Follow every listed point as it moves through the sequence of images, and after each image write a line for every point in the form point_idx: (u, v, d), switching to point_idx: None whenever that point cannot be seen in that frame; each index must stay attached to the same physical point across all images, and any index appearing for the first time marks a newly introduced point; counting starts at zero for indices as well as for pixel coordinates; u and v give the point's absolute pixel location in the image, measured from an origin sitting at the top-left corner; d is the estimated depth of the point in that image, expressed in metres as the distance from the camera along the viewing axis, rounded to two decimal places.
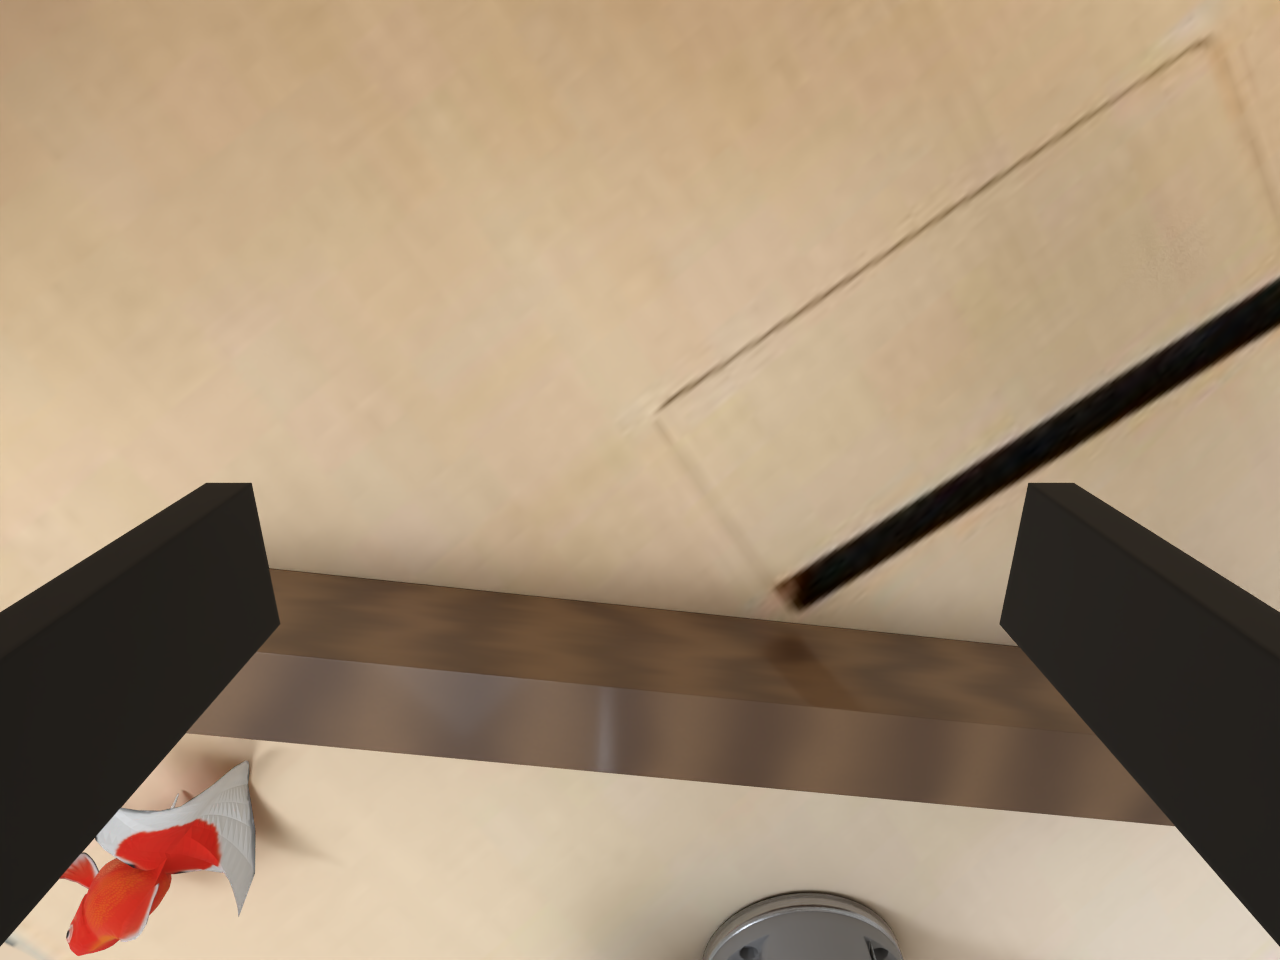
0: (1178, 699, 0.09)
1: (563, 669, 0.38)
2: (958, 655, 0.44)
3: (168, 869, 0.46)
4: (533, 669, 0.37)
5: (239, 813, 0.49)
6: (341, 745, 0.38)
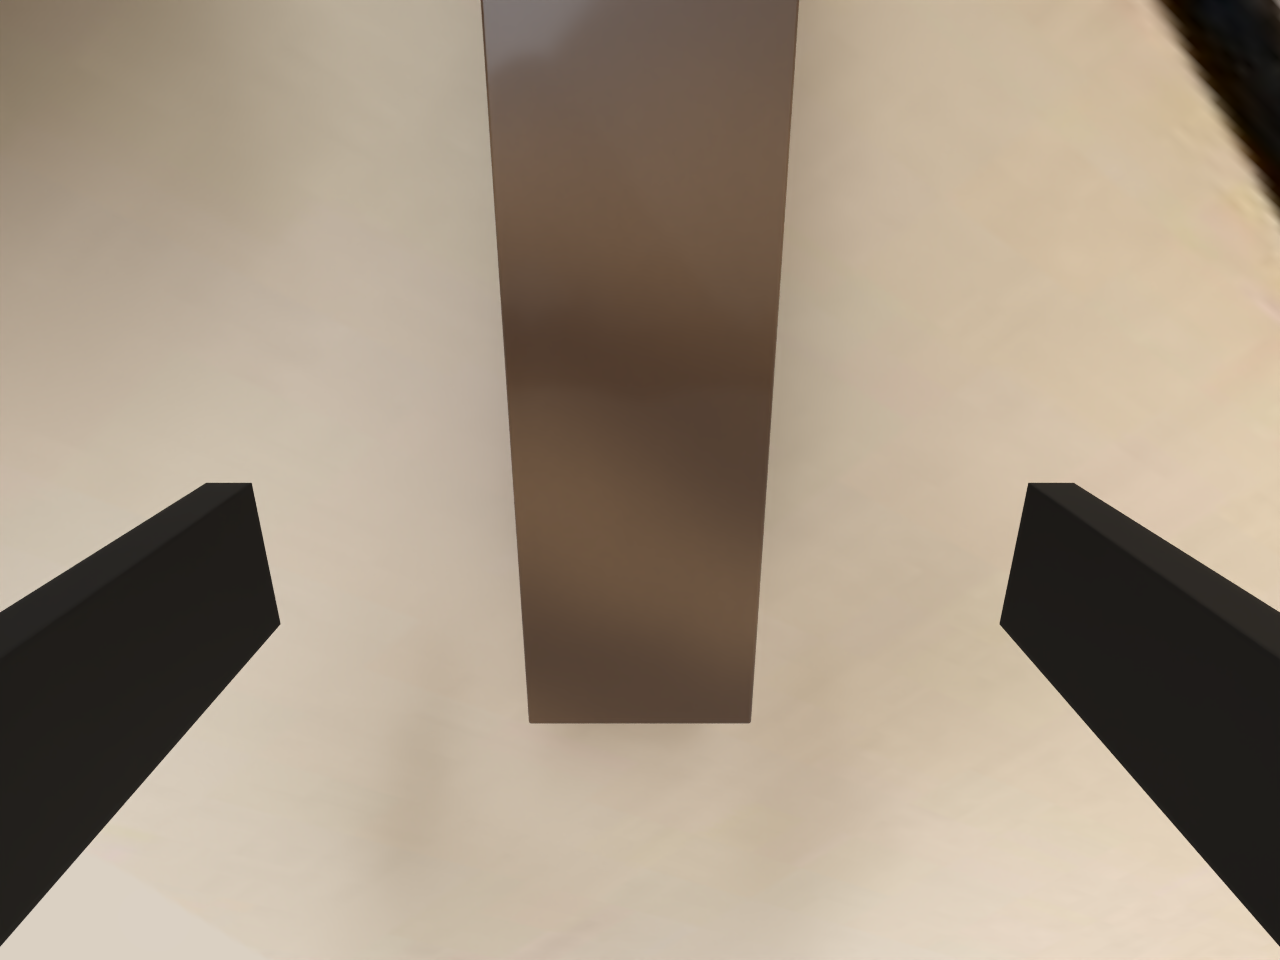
0: (1178, 698, 0.09)
1: None
2: None
3: None
4: None
5: None
6: None
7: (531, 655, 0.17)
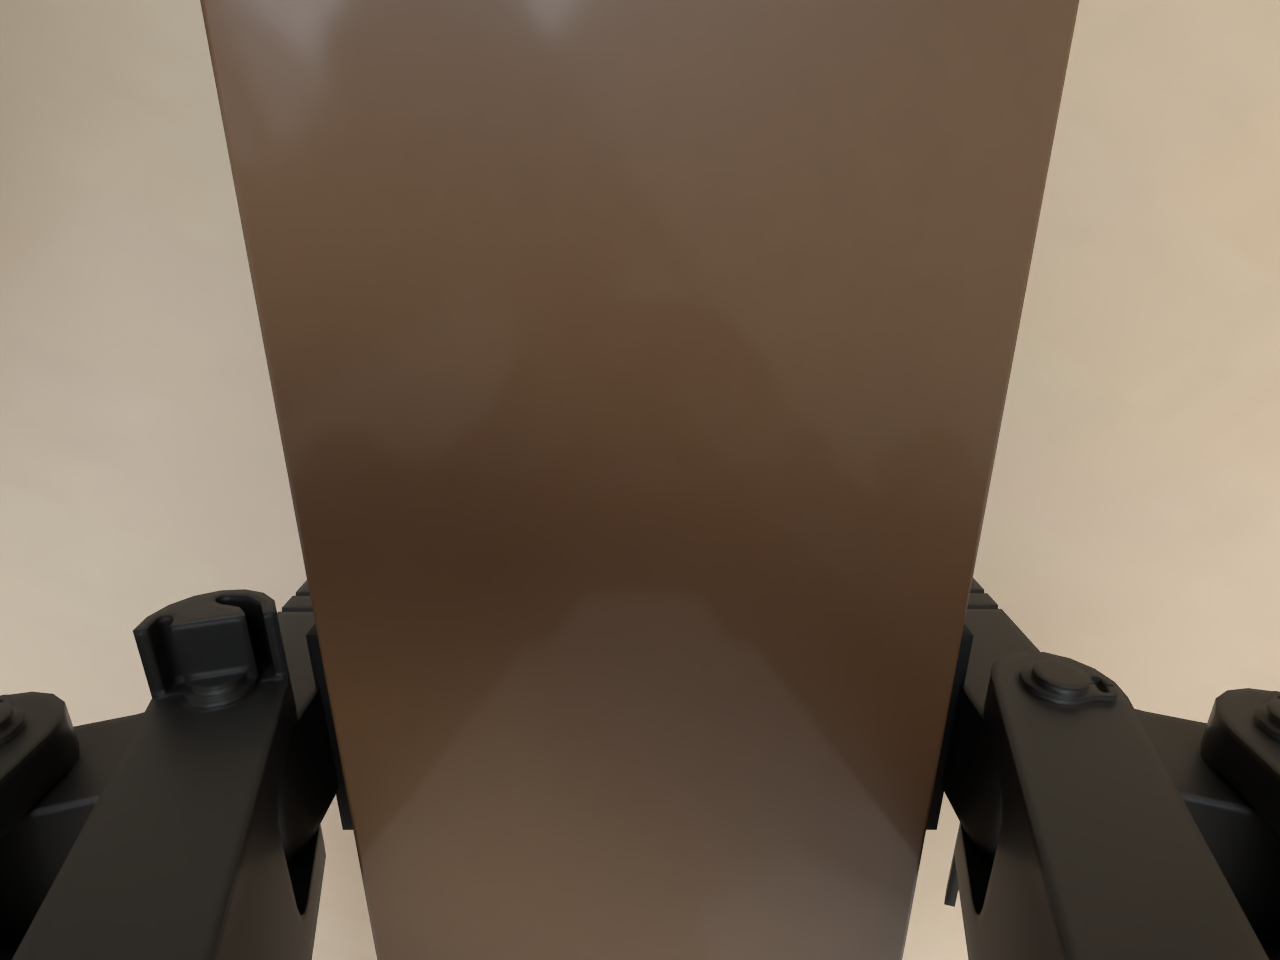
0: None
1: None
2: None
3: None
4: None
5: None
6: None
7: None
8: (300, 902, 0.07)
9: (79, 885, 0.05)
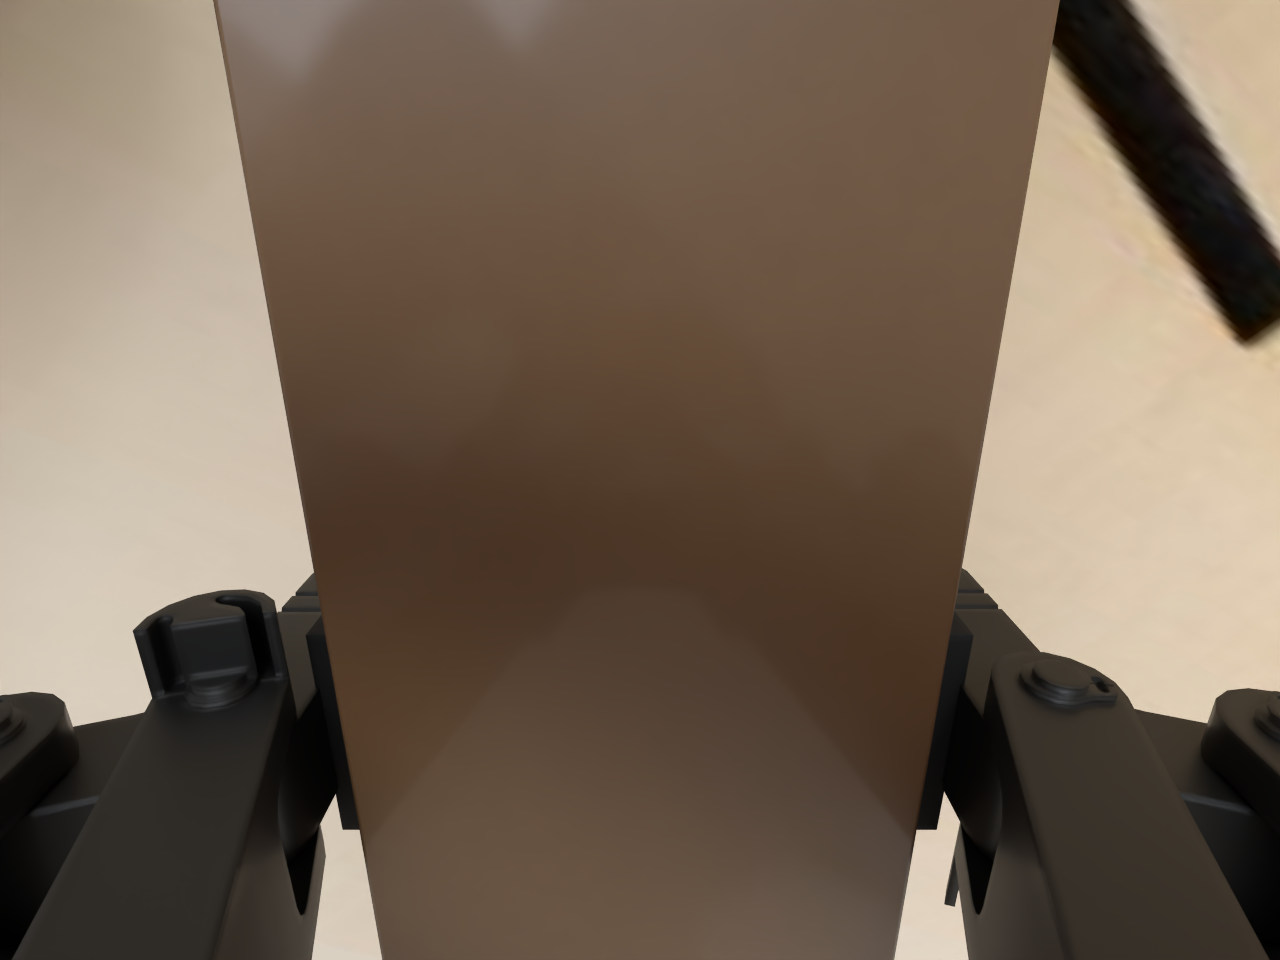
0: None
1: None
2: None
3: None
4: None
5: None
6: None
7: None
8: (300, 902, 0.07)
9: (79, 885, 0.05)
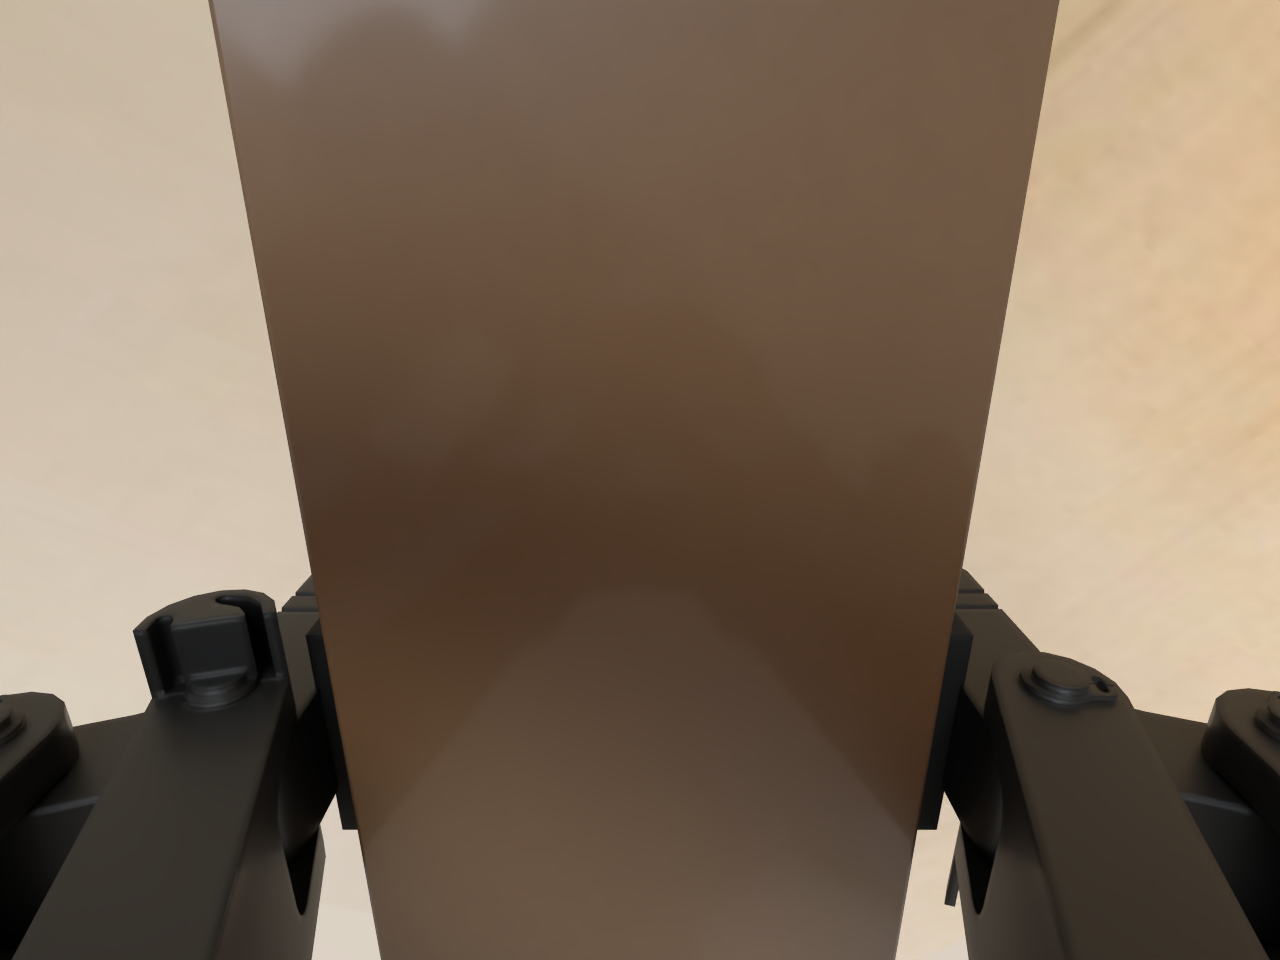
0: None
1: None
2: None
3: None
4: None
5: None
6: None
7: None
8: (300, 902, 0.07)
9: (79, 884, 0.05)
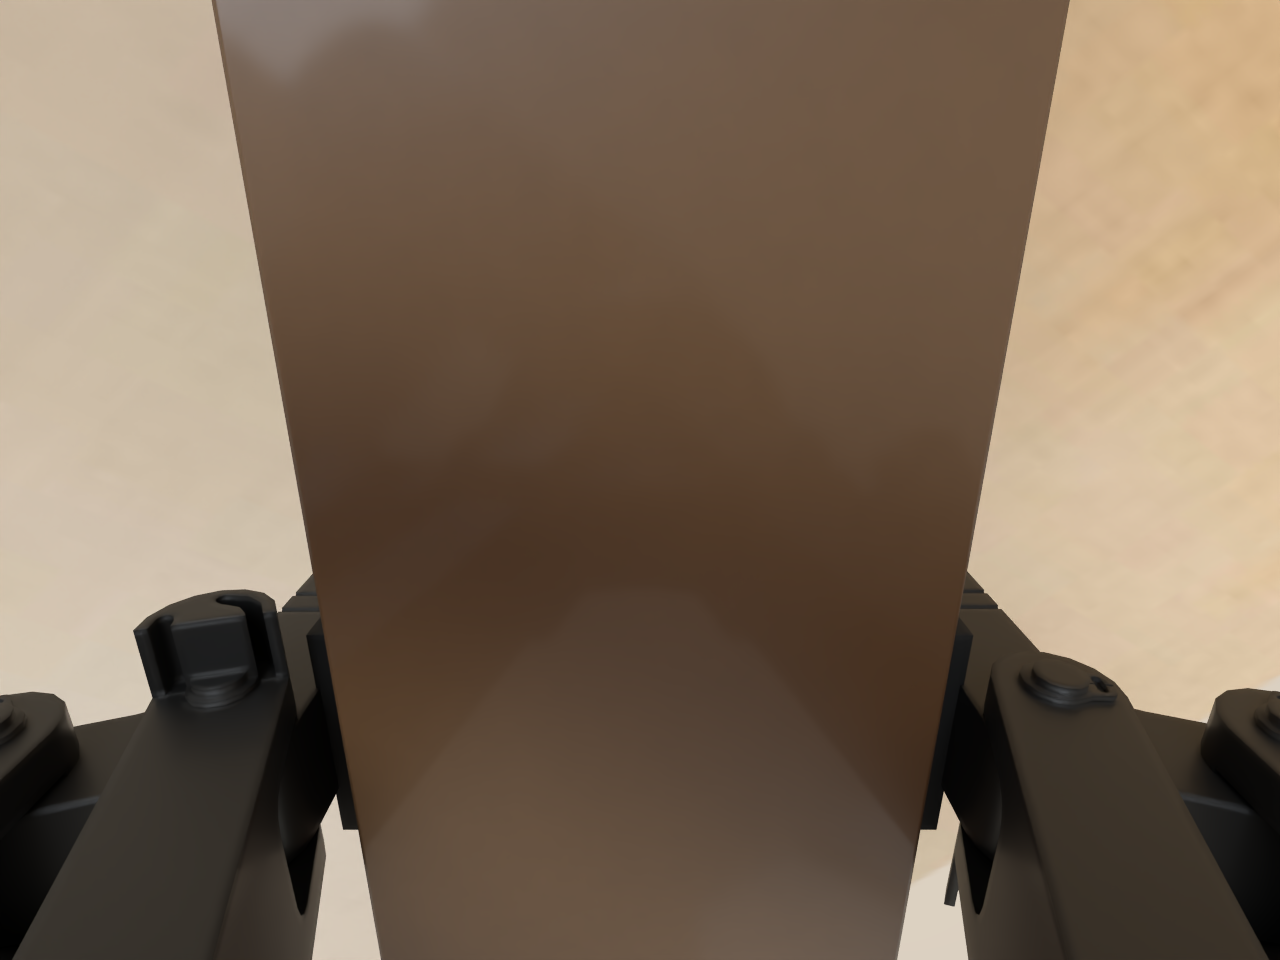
0: None
1: None
2: None
3: None
4: None
5: None
6: None
7: None
8: (300, 902, 0.07)
9: (80, 885, 0.05)
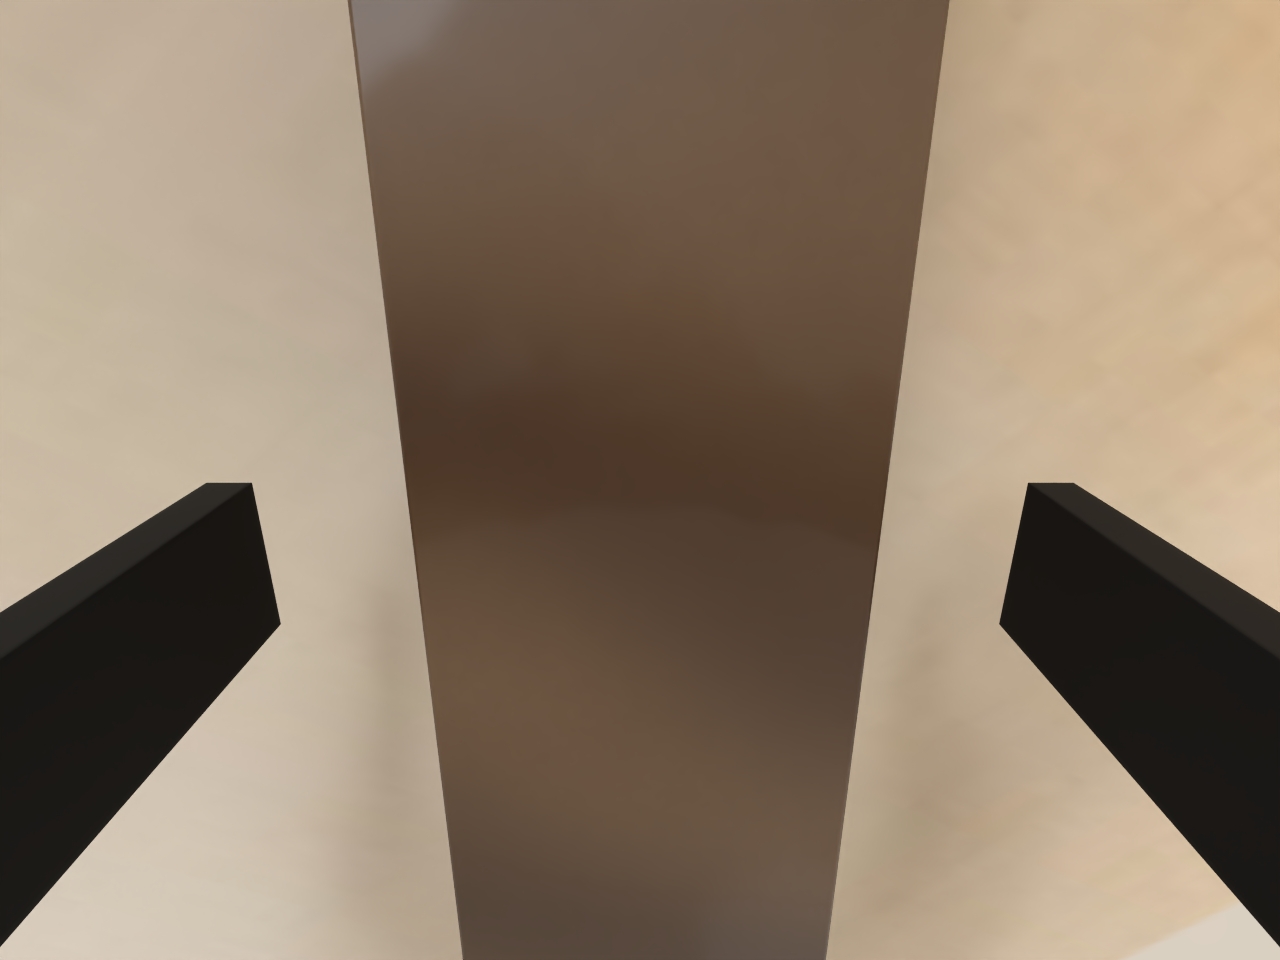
0: (1178, 698, 0.09)
1: None
2: None
3: None
4: None
5: None
6: None
7: (467, 916, 0.11)
8: None
9: None
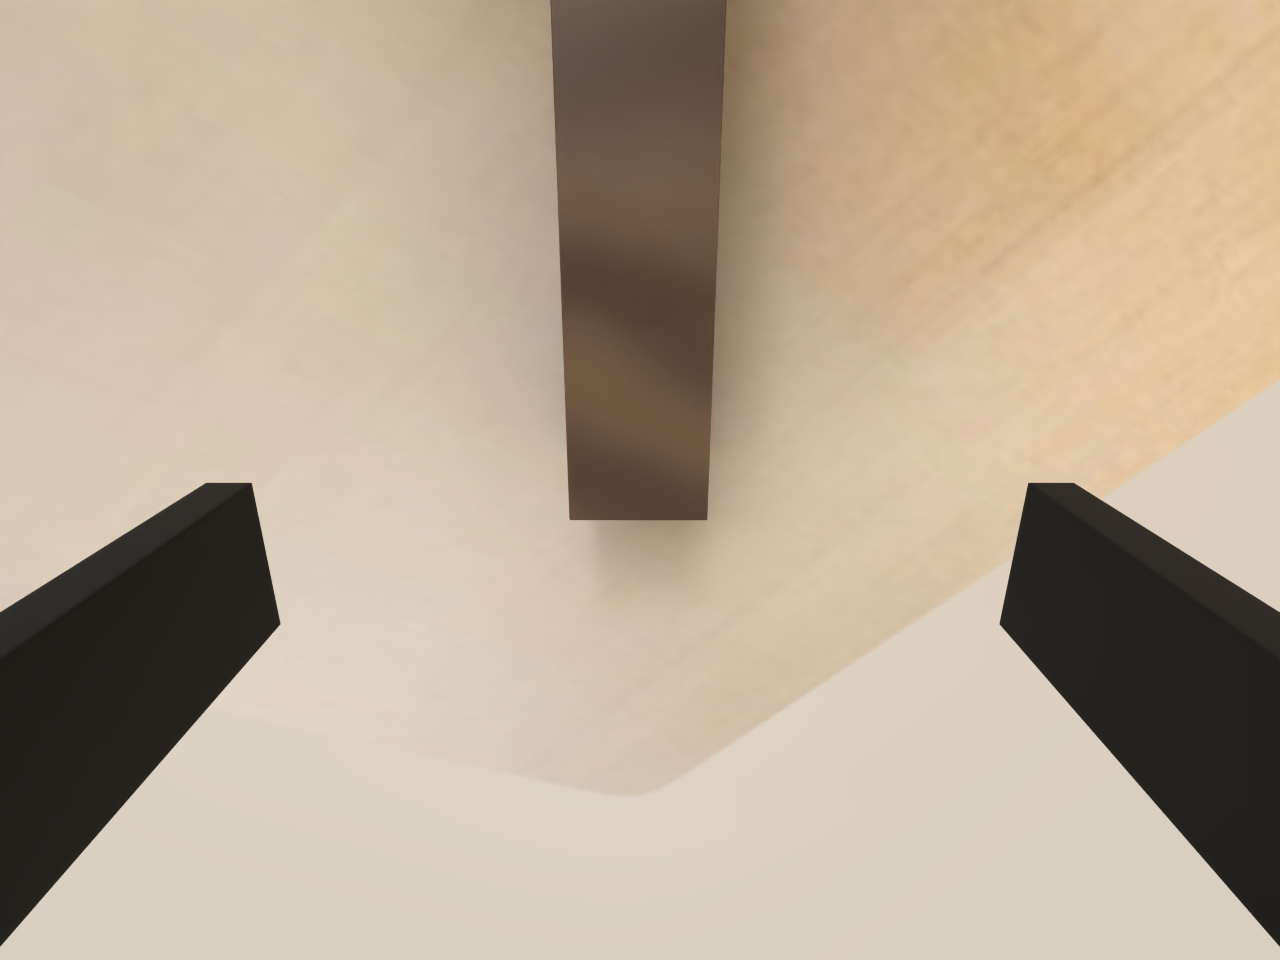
0: (1178, 699, 0.09)
1: None
2: None
3: None
4: None
5: None
6: None
7: (572, 473, 0.28)
8: None
9: None
